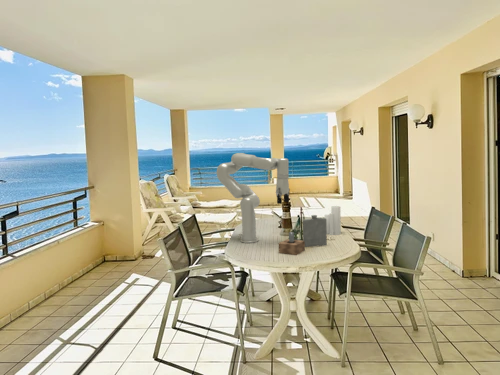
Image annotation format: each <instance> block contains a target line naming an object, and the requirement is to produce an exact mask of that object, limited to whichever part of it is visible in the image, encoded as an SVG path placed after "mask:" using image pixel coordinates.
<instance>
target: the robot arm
mask: <svg viewBox="0 0 500 375" xmlns="http://www.w3.org/2000/svg"><path fill="white" fill-rule="evenodd" d="M243 167H248V168H253V169H259V170H266V171H270V170H276V177H277V178H276V183H275V184H276V187H275V195H276V203H277V204H278V205H280V204H283V202H285V203H286V202H287V203H289V201H290V200H289V199H290V197H289V196H290V190H291V189H290V184H289V182H290V181H289V178H290V177H289V159H288V158H283V157H281V158H275V157H269V158H267V157H259V156H256V155H255V154H247V153H245V152H237V153H234V154H232V155H231V161H229V162H223V163H220V164H219V165H218V166H217V168H216V177H217V179H218V181H219V182H220V183H221V184H222V185H223V186H224V187H225V188H226V189H227V191H228V192H229V193H230V194H231V195H232V196H233V197H234V198H235V199H241V200H240V202H239V203H240V204H239V206H240V212H241V230H242V232H241V233H242V234H241V233H239V234H238V238H240V242H241V243H244V244H252V243H253V244H254V243H257V242H258V241H259V238H257V227H256V225H257V223H256V212H255V209H256V208H258V207H259V205H260V203H261V200H260V198H259V196H258V195H257V194H256V193H255V192H254V190H253V189H252V188H251V187H250V186H249V185H247V184H244V183H241V184H240V183H239V182H238V181H237V180H236V179H235V178H233V177H232V176H231V175H234V174H235V173H237V172H238V171H239V170H240V169H242V168H243ZM282 196H283V198H282ZM283 199H284V201H283V202H282V200H283Z"/></svg>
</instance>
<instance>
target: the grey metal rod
mask: <svg viewBox="0 0 500 375" xmlns="http://www.w3.org/2000/svg"><path fill="white" fill-rule="evenodd" d="M288 239H289V243H294V240H295V232H294V231H289V232H288Z"/></svg>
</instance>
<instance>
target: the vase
mask: <svg viewBox="0 0 500 375" xmlns="http://www.w3.org/2000/svg"><path fill="white" fill-rule="evenodd" d="M330 209H331V210H330V211H331V213H329V214H324V218H326V224H327V235H329V236H334V235H335V236H338V235H341V233H342V232H341V229H342V227H341V225H342V224H341V223H342V222H341V221H342V220H341V217H342V216H341V206H337V205H336V206H335V205H334V206H331V208H330Z"/></svg>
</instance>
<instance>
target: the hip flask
mask: <svg viewBox="0 0 500 375" xmlns="http://www.w3.org/2000/svg"><path fill="white" fill-rule="evenodd" d="M327 236H328V234H327V224H326V218H325V217H318V215H316V214H312V215H311V218H305V219H302V241H305V248H308V247H321V246H325V247H326V246H328V245H327V243H328V237H327Z"/></svg>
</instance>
